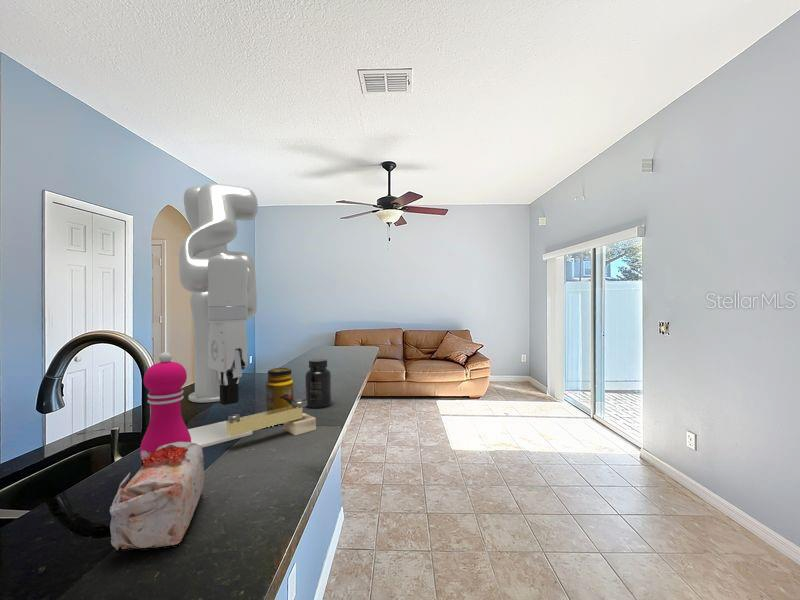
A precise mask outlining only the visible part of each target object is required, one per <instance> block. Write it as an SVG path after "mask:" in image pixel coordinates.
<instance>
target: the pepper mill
mask: <svg viewBox="0 0 800 600" xmlns="http://www.w3.org/2000/svg"><path fill="white" fill-rule="evenodd" d="M172 359H173V356H172V354H171V353H170V352H166V351H165V352H162V353H160V354H159V356H158V360H159V362H156V363H154V364H152V365H150V366H149V367H148V368H147V369H146V371H145V373H144V375H143V385H144V387H145V389H147V390H148V392H149V393H148V394H147V398H148V399H147V403H148V404H149V405H150V419H149V421H148V425H147V429H146V431H145V434H144V435H143V437H142V439H141V443H140V447H139V457H140V460H142V456H141V452H142V450H144V451H146V452H150V453H152V454H153V452H154V451H155V450H156V449H157V448H158V447H160V446H162V445H165V444H170V443H175V442H191V436H190V433H189V431H188V429H189V428H188V427H187V426H186V424H185V421H184V418H183V416H182V411H181V410H182V409H181V401H182V400H183V399H184V398H185V397H184V396H185V395H184V394H183V393H184V390H183V389H182V387H183V386H185V384H186V382H187V379H188V378H187V377H188V374H187V370H186V368H185V367H184V366H183V365H182V364H181V363H178V362H176V361H171V360H172ZM144 451H143V452H144ZM143 461H144V460H142V462H143Z"/></svg>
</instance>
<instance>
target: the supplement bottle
mask: <svg viewBox="0 0 800 600" xmlns="http://www.w3.org/2000/svg"><path fill="white" fill-rule="evenodd" d="M327 367H328V359H325V358H313V359H309V360H308V368H309V369H308V370H306V372H305V374H304V393H305V394H304V396H305V398H304V399H306V400H307V406H308V408H309V407H313V408H312V409H322V408H326V407H330V406H331V404H332V373H331V370H329V369H328V368H327ZM307 406H306V407H307Z"/></svg>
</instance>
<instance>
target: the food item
mask: <svg viewBox="0 0 800 600" xmlns="http://www.w3.org/2000/svg"><path fill="white" fill-rule="evenodd" d="M202 447H203V446H202V445H198V444H196V443H192V442H175V443H170V444H165V445H162V446H160V447H158V448H157V449H156V450H155V451H154V452H153V454H152V453H150V452H146V451H144V450H142V452H141V456H142V459H141V460H142V463H143V464H142V465H141V467H140V468H139V469H138V471H137V472H136V473H135V475H134V476H133V477H132V478H131V479H130V475H131V472H129V473H128V474H127V475H126V477H124V478H123V480H122V481H121V482H120V484H119V485H118V486H119V487H118V490H117V493H115V496H114V498H113V501H112V503H111V505H110V507H109V514H110V515H111V519H110V523H109V529H110V530H109V531H110V536H111V537H110V544H111V546H112V547H113V548H115V550H116V551H118V550H119V549H120V548H121V549H122V550H123V549H126V548H129V547H130V548H137V547H139V548H147V547H152V546H155V547H161V546H169V545H175V544H178V543H180V542H182V540H183V538H184V536H185V534H186V533H187V530H188V528H189V526H190V523H191V520H192V518H193V516H194V513H195V511H196V508H197V506H198V504H199V501H200V498H201V496H202V493H203V490H204V486H205V468H204V467H205V466H204V464H205V461H204V452H203V448H204V447H203V448H202ZM143 451H144V452H143ZM143 460H144V461H143ZM127 481H128V483H127ZM180 544H181V543H180Z"/></svg>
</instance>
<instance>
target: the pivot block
mask: <svg viewBox="0 0 800 600" xmlns="http://www.w3.org/2000/svg"><path fill="white" fill-rule="evenodd" d="M283 430H284V431H285V432H288V433H289V434H292V435H293V436H299V435H302V434H306V433H309V432H312V431H316V430H317V418H316V417H315V416H313V415H310V414H308V413H305V412H303V418H301V419H297V420H293V421H289V422H285V423H284V425H283Z"/></svg>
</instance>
